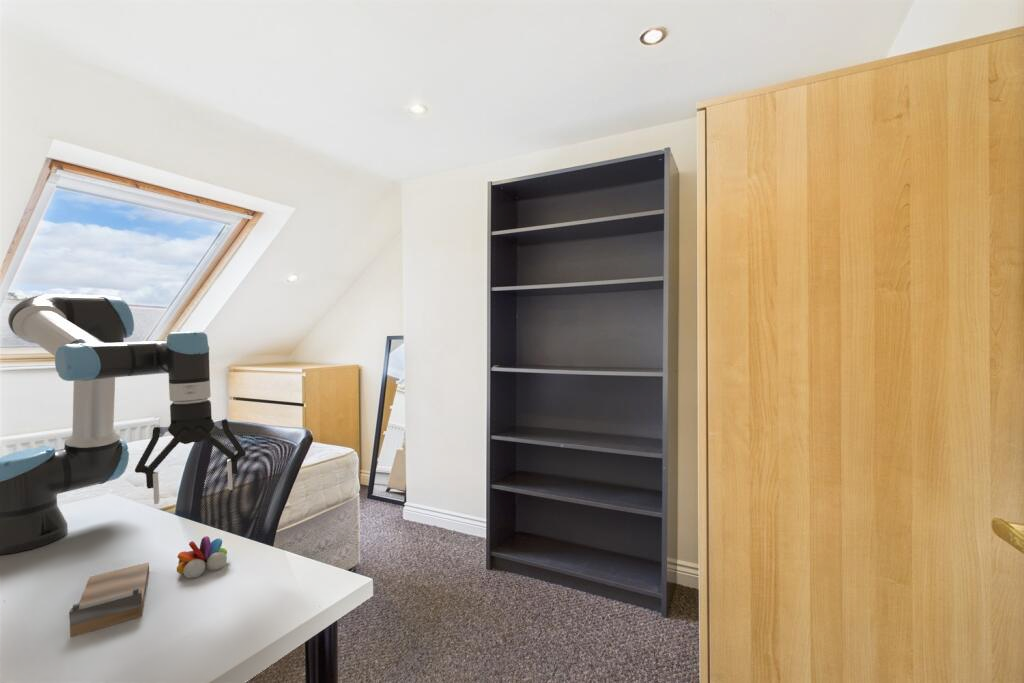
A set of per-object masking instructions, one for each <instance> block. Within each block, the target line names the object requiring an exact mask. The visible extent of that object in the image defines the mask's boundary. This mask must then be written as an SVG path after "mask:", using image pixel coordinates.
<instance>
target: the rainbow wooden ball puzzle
mask: <svg viewBox="0 0 1024 683" xmlns="http://www.w3.org/2000/svg"><path fill="white" fill-rule="evenodd" d="M188 545H189V547H190V548H191V550H188V551H181V552H179V553H178V554H177V558H178V563H177V564H178V565H177V566H176V572H177V573H178V574H183V575H184V577H186V578H187V579H196V578H198V577H200V576H201V575H202V574H203V573H204V571H205V569H206V568H207V569H208V570H210V571H218V570H221V569H222V568H223V567H224V566H225V564H226V563H227V561H228V557H227V554H228V550H227V549H226V548H224V547H222V545H223V540H222V538H220V537H218V538H215V539H213V540H212V541H211V539H210V537H209V536H207V535H206V536H203V537H202V538H201V541H200V544H199V547H198V545H197V544H196V542H195V541H190V542H189V543H188Z"/></svg>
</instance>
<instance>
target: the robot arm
mask: <svg viewBox="0 0 1024 683" xmlns="http://www.w3.org/2000/svg"><path fill="white" fill-rule="evenodd" d="M7 320H8V321H7V323H8V327H9V328H10V330H11V332H12V333H13V334H15V335H16V336H17V337H18V338H20V339H21V340H23V341H25V342H28V343H31V344H36V345H38V346H40V347H41V348H42V349H44V350H45V351H47V352H48V353H50V354H51V355H52V356H54V368H55V370H56V373H57V374H58V377H59V378H60V379H62V380H63V381H65V382H72V381H73V394H72V395H73V397H72V398H73V400H72V401H73V402H72V431H71V433H72V434H71V435H70V436H68V437H67V438H66V439H65V440H64V448H62V449H57V450H56V449H55V447H54V446H50V445H46V446H37V447H32V448H31V447H30V448H26V449H22V450H19V451H15V452H12V453H11V452H10V453H8V454H6V455H2V456H1V457H0V555H1V554H3V555H10V554H16V553H20V552H24V551H29V550H32V549H37V548H39V547H42V546H45V545H47V544H48V545H49V544H50V543H54V542H56V541H57V540H60V539H61V538H63V537H64V536H66V534H68V530H69V528H68V522H67V520H66V518H65V516H64V515H63V513H62V512H61V509H60V508H59V506H58V494H59V495H60V494H63V493H67V492H72V491H76V490H79V489H84V488H88V487H92V486H97V485H103V484H105V483H107V482H110V481H111V482H112V481H114V480H118V479H120V478H121V477H122V476H123V475H124V473H125V472H126V470H127V467H128V465H129V464H128V463H129V459H130V458H129V457H130V452H129V451H128V450H129V447H128V444H127V442H126V441H125V440H124V439H122V438H121V436H120V434H119V433H117V432H115V431H114V423H115V422H114V418H115V397H116V396H115V393H116V392H115V390H116V387H115V386H116V378H124V377H135V376H137V377H138V376H147V375H160V374H161V375H163V374H168V390H169V394H168V396H169V401H171V402H172V403H170V405H169V411H170V413H169V414H170V415H169V416H170V424H169V425H165V426H160V425H157V424H155V425H154V427H153V429H152V434H151V435H152V436H151V439H150V440H149V443H148V444H147V446H146V448H145V450H144V451H143V454H142V455H141V457H140V459H139V461H138V463H137V464H136V467H135V469H134V472H135V473H137V474H138V473H139V474H142V473H143V474H145V477H146V478H145V480H146V488H147V489H153V504H154V505H157V504H159V503H160V481H159V470H156V469H157V468H158V467H159V466H160V465H161V464H162V462H163V461H164V460H165V459H166V458H167V456H169V454H170V453H171V452H172V451H173V450H174V449H175V447H177V446H178V444H183V445H188V444H192V443H202V442H203V441H204V440H205V441H207V442H208V443H210V444H211V445H212V446H214V447H215V448H216V449H217V450H219V451H220V452H221V453H223V455H225V456H226V457H227V458H228V459H227V460H226V465H227V467H226V468H227V487H228V491H232V490H233V475H235V474H237V473H238V460H239V459H240V458H242V457H245V456H246V454H247V453H246V451H245V449H244V446H242V444H241V443H240V441H239V440H238V438H237V437H236V435H235V434H234V433H233V431H232V429H231V427H229V421H228V419H227V417H222V419H217V420H213V418H212V416H213V415H212V401H211V400H210V398H211V396H212V395H211V394H212V393H211V379H210V346H209V339H208V334H207V333H205V332H203V331H178V332H177V331H176V332H170V333H168V334H167V336H166V340H163V339H162V340H152V341H127V342H126V341H125V342H124V339H128V338H130V337H132V335H133V334H134V333H133V332H134V331H135V321H134V316H133V313H132V311H131V308H130V306H129V304H128V303H127V302H126V301H125V300H124V299H122V298H121V297H118V296H111V295H110V296H109V295H101V294H100V295H99V294H98V295H95V294H92V295H91V294H58V293H47V294H44V293H43V294H39V295H35V296H32V297H31V296H30V297H29V298H27V299H24V300H22V301H21V302H19V303H17V304H16V305H15V306H14V307H13V308H12V309H11V311H10V312H9V315H8V319H7ZM215 427H217V428H218V429H219V430H222V431H223V433H224V434H225V436H226V437H227V439H228V440H229V441H230V443H231V444H232V446H233V447H234V448H235V450H236V452H234V451H233V450H231V449H230V448H229V447H228V446H227V445H226V444H224V443H223V442H222V441H221V440H219V439H218V438H217V437H216V436H215V435H213V433H211V432H212V430H213V429H214V428H215ZM167 432H168V433H169V434H170V435H171V436H172V439H171V440H170V441H169V442H168V443H167V445H166V446H164V448H163V449H162V450H161V452H160V453H159V454H158V455H157V456H156V457H155V458H154V460H152V461H151V462H150V464H149V465H146V464H147V461H148V460H149V458H150V456H151V454H152V452H153V451H154V449H155V447H156V445H157V443H158V441H159V439H160V438H161V437H164V436H165V433H167Z"/></svg>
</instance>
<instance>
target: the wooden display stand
mask: <svg viewBox="0 0 1024 683" xmlns="http://www.w3.org/2000/svg"><path fill="white" fill-rule="evenodd" d="M149 574H150V562H145V563H141V564H137V565H132V566H129V567H125V568H120V569H115V570H111V571H107V572H103V573H99V574H94V575H91V576H89V577H88V579H87V582H86V584H85V586H84V590H83V593H82V595H81V597H80V599H79V602H77V603H74V604H72V607H71V608H70V609H69V612H68V613H69V614H68V615H69V616H68V617H69V619H68V620H69V634H70V635H69V636H70V638H72V637H76V636H79V635H82V634H86V633H89V632H93V631H96V630H100V629H103V628H106V627H110V626H112V625H113V626H114V625H116V624H120V623H123V622H126V621H131V620H134V619H136V618H137V619H138V618H141V617H143V613H144V612H143V610H144V605H145V600H146V594H147V587H148V580H149Z"/></svg>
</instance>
